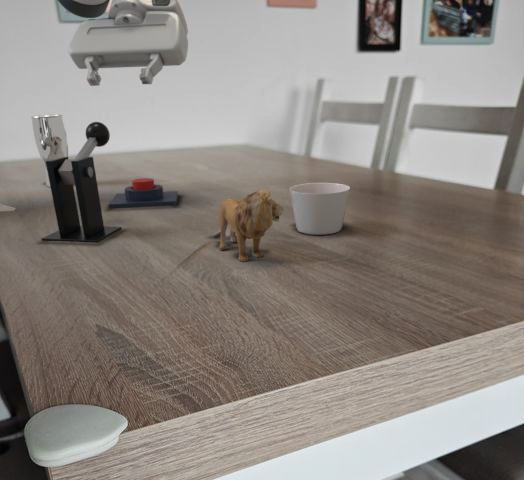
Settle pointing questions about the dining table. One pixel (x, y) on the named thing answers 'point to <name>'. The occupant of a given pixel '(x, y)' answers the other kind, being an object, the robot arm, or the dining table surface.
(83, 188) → the bracket
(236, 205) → the lion figurine
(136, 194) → the button box
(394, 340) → the dining table surface
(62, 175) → the lever
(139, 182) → the button
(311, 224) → the white ramekin
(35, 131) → the beer glass
